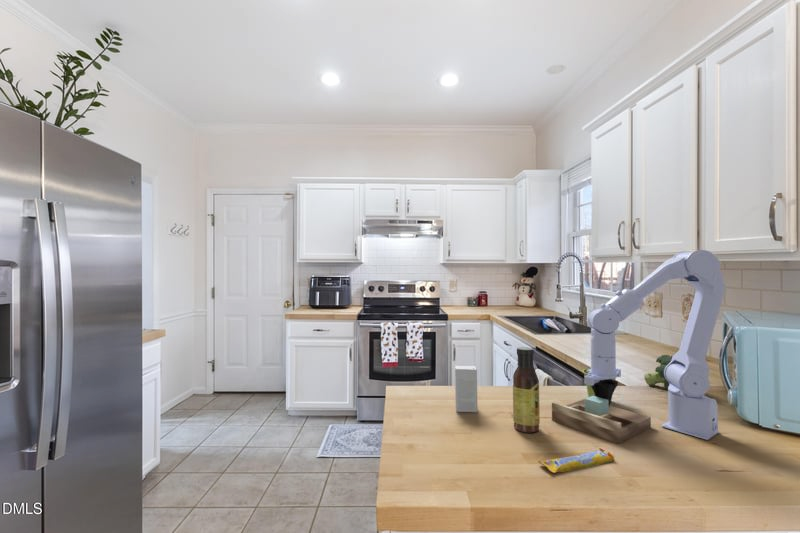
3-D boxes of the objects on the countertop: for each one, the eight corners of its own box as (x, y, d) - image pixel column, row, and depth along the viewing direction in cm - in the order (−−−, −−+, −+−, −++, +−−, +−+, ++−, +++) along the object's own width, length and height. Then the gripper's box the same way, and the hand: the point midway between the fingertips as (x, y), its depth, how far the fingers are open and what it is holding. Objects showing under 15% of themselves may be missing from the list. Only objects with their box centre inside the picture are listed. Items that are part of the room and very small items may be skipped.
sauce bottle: (541, 435, 92) (540, 351, 92) (514, 432, 93) (513, 350, 93) (537, 424, 98) (536, 346, 98) (512, 422, 100) (511, 345, 100)
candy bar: (601, 454, 83) (601, 445, 83) (618, 463, 79) (617, 454, 79) (536, 467, 78) (536, 458, 78) (551, 478, 74) (551, 468, 74)
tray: (650, 427, 96) (650, 409, 96) (619, 443, 87) (619, 423, 87) (585, 407, 110) (585, 391, 110) (551, 420, 101) (551, 402, 101)
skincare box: (476, 407, 111) (475, 365, 111) (477, 412, 106) (477, 369, 106) (454, 406, 111) (454, 365, 111) (455, 412, 107) (455, 369, 107)
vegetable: (659, 374, 137) (703, 363, 125) (660, 407, 129) (708, 398, 117) (634, 355, 135) (677, 343, 124) (634, 387, 127) (680, 377, 116)
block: (608, 415, 97) (608, 399, 97) (600, 419, 95) (600, 403, 95) (593, 411, 100) (593, 395, 101) (584, 414, 98) (584, 398, 98)
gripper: (602, 349, 107) (602, 398, 107) (572, 356, 99) (573, 409, 99) (629, 354, 101) (629, 405, 101) (600, 361, 93) (600, 418, 93)
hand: (603, 408), depth 100 cm, fingers closed
